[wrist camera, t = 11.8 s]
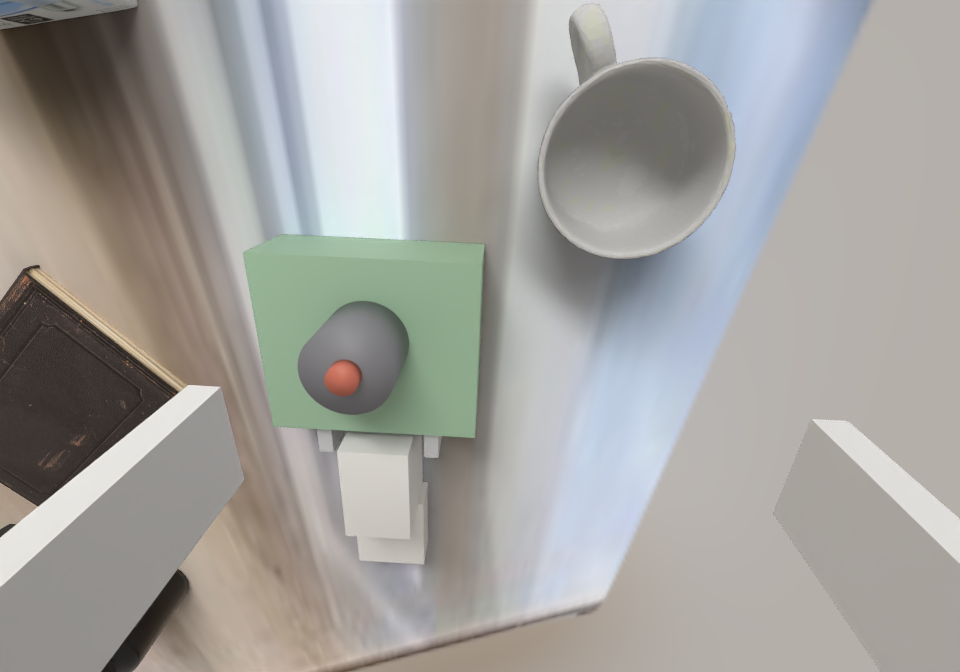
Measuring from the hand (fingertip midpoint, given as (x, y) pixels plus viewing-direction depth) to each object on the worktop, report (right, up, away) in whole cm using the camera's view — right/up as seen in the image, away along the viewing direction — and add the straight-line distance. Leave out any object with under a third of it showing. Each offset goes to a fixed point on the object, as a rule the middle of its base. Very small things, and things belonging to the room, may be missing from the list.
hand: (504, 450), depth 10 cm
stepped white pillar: (-9, -11, +35) cm, 38 cm away
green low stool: (-9, +3, +29) cm, 30 cm away
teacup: (+8, +17, +22) cm, 29 cm away
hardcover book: (-41, -3, +33) cm, 53 cm away
